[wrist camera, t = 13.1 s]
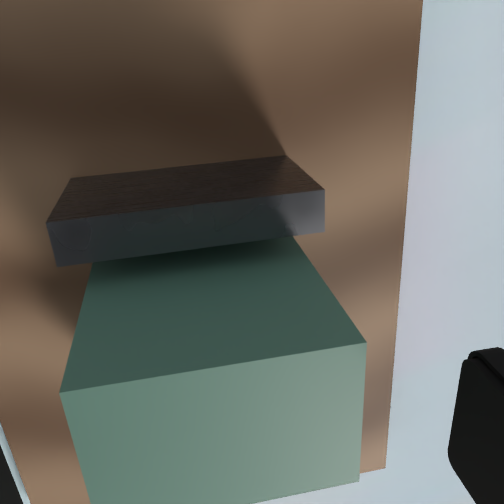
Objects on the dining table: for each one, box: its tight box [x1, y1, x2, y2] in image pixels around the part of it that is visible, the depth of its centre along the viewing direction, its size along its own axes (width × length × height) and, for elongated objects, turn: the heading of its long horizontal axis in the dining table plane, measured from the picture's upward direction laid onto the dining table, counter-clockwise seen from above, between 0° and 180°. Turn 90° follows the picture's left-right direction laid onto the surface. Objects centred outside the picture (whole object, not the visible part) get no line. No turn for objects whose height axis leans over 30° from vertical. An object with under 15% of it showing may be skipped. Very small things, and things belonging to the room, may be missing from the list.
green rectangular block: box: [59, 236, 367, 504], centre depth 14 cm, size 4×6×8 cm, turn 93°
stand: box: [0, 0, 423, 504], centre depth 16 cm, size 24×16×6 cm, turn 3°
